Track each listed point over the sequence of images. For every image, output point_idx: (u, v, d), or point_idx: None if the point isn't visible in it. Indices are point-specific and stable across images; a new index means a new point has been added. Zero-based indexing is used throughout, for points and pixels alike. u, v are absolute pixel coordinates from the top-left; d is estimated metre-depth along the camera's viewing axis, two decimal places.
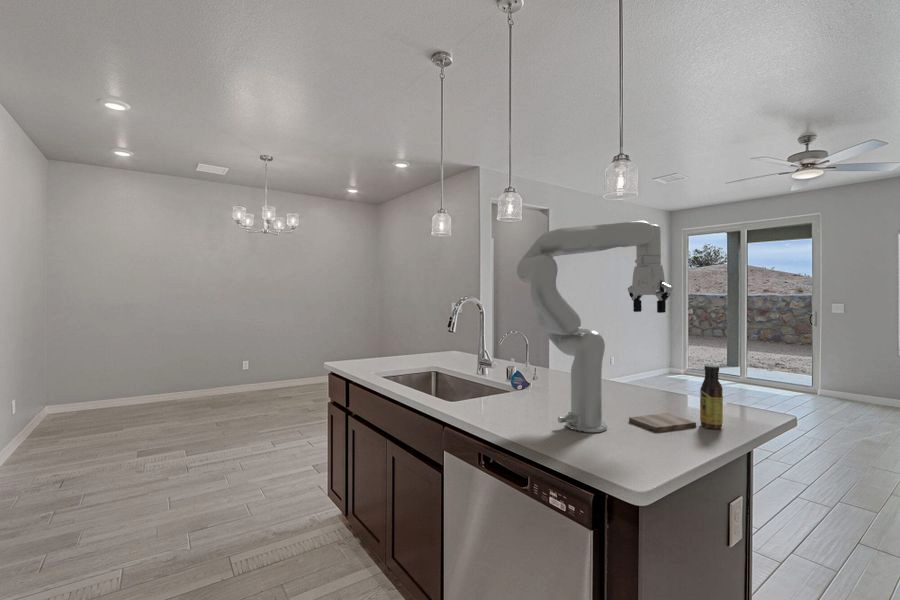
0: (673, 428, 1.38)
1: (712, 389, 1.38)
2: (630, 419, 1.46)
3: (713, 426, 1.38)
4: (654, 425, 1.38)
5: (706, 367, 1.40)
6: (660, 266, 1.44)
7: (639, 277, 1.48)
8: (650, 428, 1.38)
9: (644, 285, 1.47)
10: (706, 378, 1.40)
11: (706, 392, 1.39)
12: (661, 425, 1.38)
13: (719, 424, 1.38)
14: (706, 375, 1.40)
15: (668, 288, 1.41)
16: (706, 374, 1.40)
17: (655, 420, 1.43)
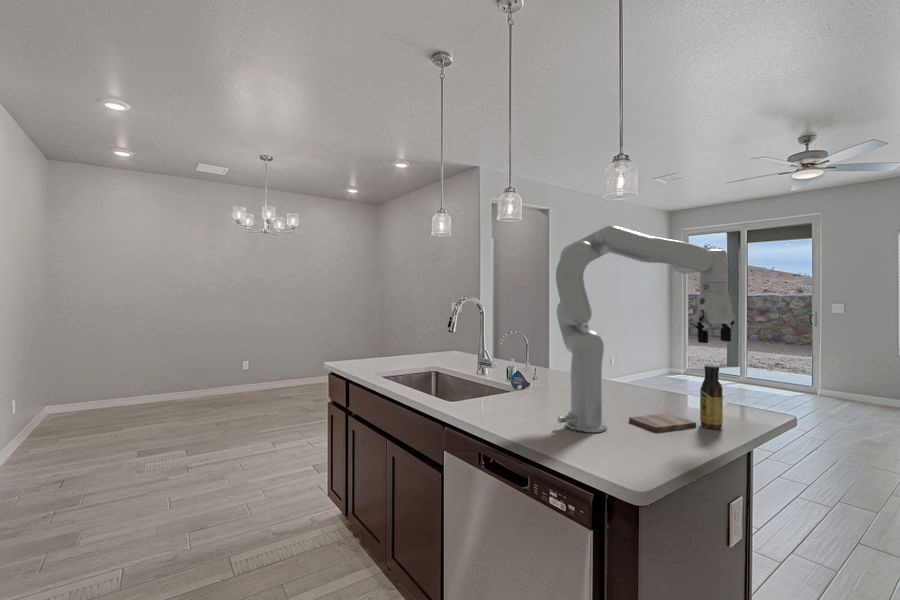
0: (673, 428, 1.38)
1: (712, 389, 1.38)
2: (630, 419, 1.46)
3: (713, 426, 1.38)
4: (654, 425, 1.38)
5: (706, 367, 1.40)
6: None
7: (718, 305, 1.37)
8: (650, 428, 1.38)
9: (723, 313, 1.38)
10: (706, 378, 1.40)
11: (706, 392, 1.39)
12: (661, 425, 1.38)
13: (719, 424, 1.38)
14: (706, 375, 1.40)
15: (734, 316, 1.42)
16: (706, 374, 1.40)
17: (655, 420, 1.43)
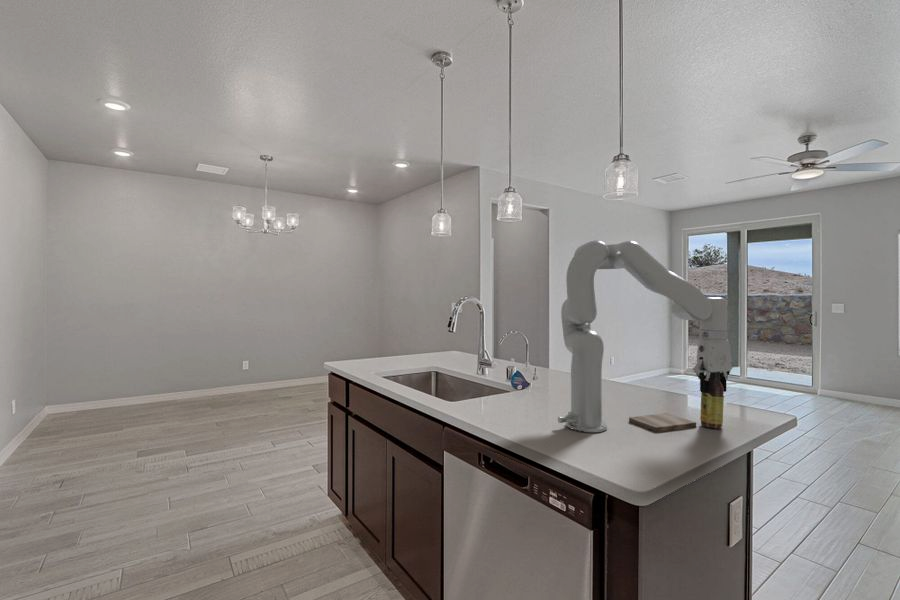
0: (673, 428, 1.38)
1: (714, 388, 1.38)
2: (630, 419, 1.46)
3: (713, 425, 1.38)
4: (654, 425, 1.38)
5: None
6: None
7: (717, 353, 1.37)
8: (650, 428, 1.38)
9: (722, 361, 1.38)
10: None
11: None
12: (661, 425, 1.38)
13: (719, 424, 1.38)
14: None
15: (731, 367, 1.42)
16: None
17: (655, 420, 1.43)
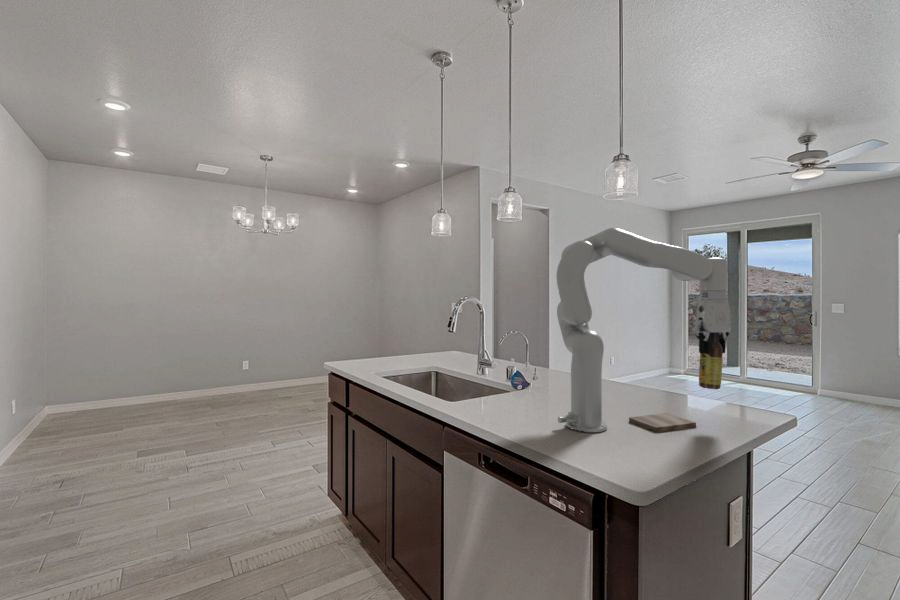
0: (673, 428, 1.38)
1: (712, 348, 1.38)
2: (630, 419, 1.46)
3: (711, 386, 1.38)
4: (654, 425, 1.38)
5: None
6: None
7: (717, 313, 1.37)
8: (650, 428, 1.38)
9: (721, 322, 1.38)
10: None
11: None
12: (661, 425, 1.38)
13: (718, 384, 1.38)
14: None
15: (730, 329, 1.42)
16: None
17: (655, 420, 1.43)
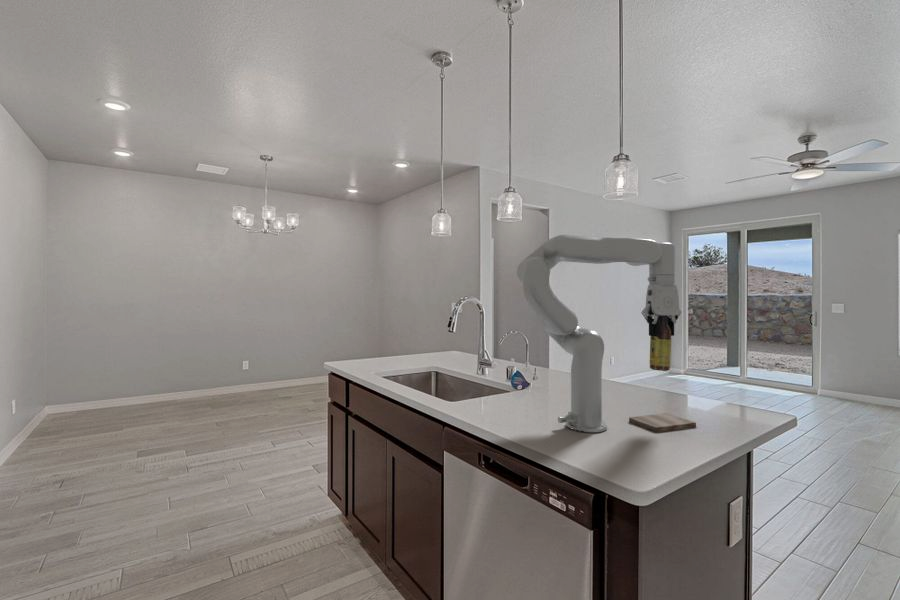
0: (673, 428, 1.38)
1: (661, 331, 1.41)
2: (630, 419, 1.46)
3: (660, 367, 1.41)
4: (654, 425, 1.38)
5: None
6: None
7: (665, 297, 1.40)
8: (650, 428, 1.38)
9: (669, 305, 1.41)
10: None
11: None
12: (661, 425, 1.38)
13: (666, 366, 1.41)
14: None
15: (680, 312, 1.45)
16: None
17: (655, 420, 1.43)
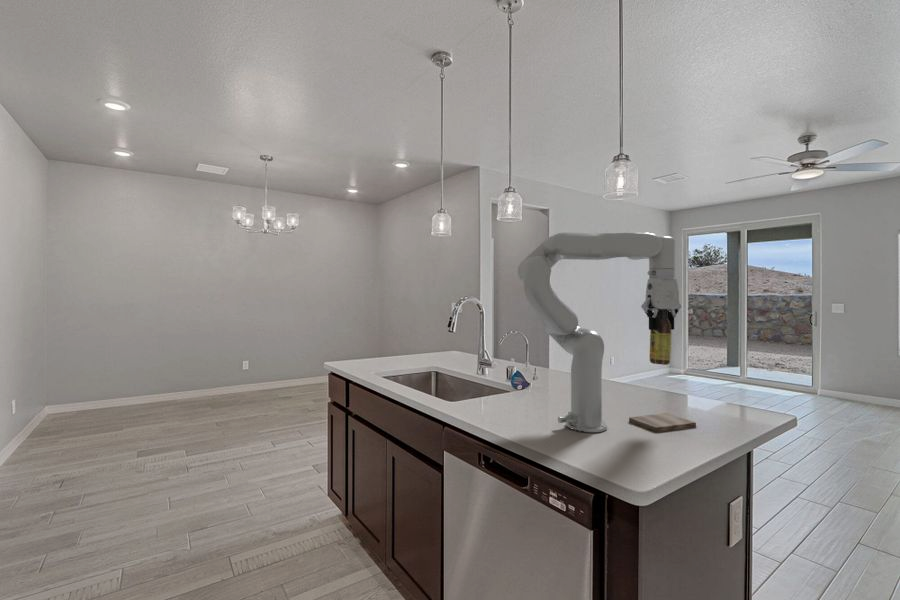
0: (673, 428, 1.38)
1: (661, 325, 1.41)
2: (630, 419, 1.46)
3: (660, 361, 1.41)
4: (654, 425, 1.38)
5: None
6: None
7: (665, 290, 1.40)
8: (650, 428, 1.38)
9: (669, 299, 1.41)
10: (656, 315, 1.43)
11: None
12: (661, 425, 1.38)
13: (666, 360, 1.41)
14: None
15: (679, 306, 1.45)
16: None
17: (655, 420, 1.43)
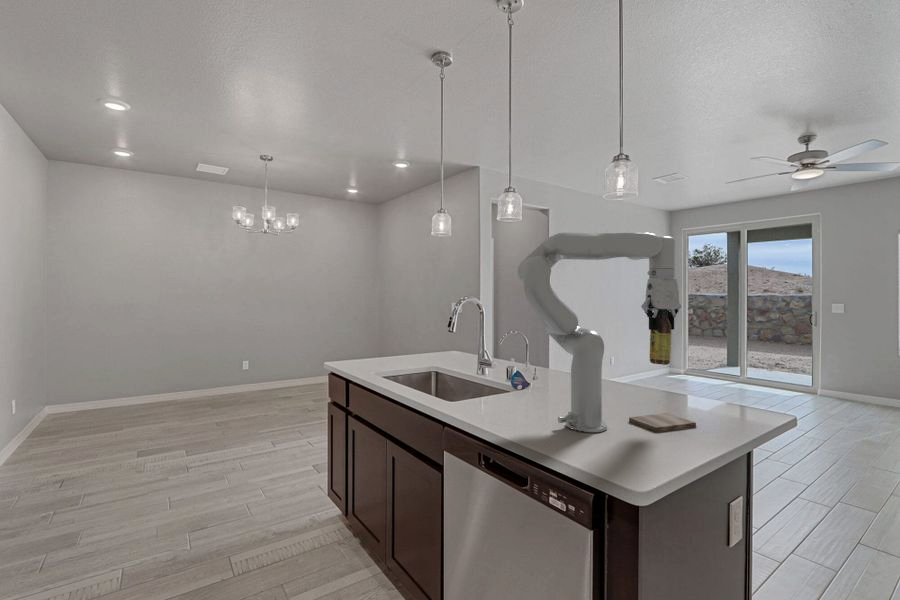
0: (673, 428, 1.38)
1: (661, 325, 1.41)
2: (630, 419, 1.46)
3: (660, 361, 1.41)
4: (654, 425, 1.38)
5: None
6: None
7: (665, 290, 1.40)
8: (650, 428, 1.38)
9: (669, 299, 1.41)
10: (656, 315, 1.43)
11: None
12: (661, 425, 1.38)
13: (666, 360, 1.41)
14: None
15: (679, 306, 1.45)
16: None
17: (655, 420, 1.43)
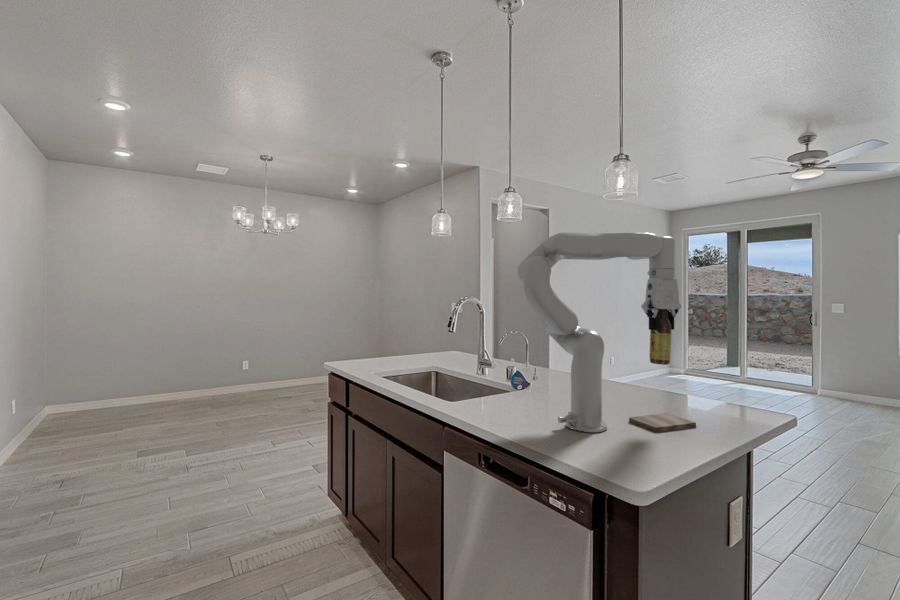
0: (673, 428, 1.38)
1: (661, 325, 1.41)
2: (630, 419, 1.46)
3: (660, 361, 1.41)
4: (654, 425, 1.38)
5: None
6: None
7: (665, 290, 1.40)
8: (650, 428, 1.38)
9: (669, 299, 1.41)
10: (656, 315, 1.43)
11: None
12: (661, 425, 1.38)
13: (666, 360, 1.41)
14: None
15: (679, 306, 1.45)
16: None
17: (655, 420, 1.43)
